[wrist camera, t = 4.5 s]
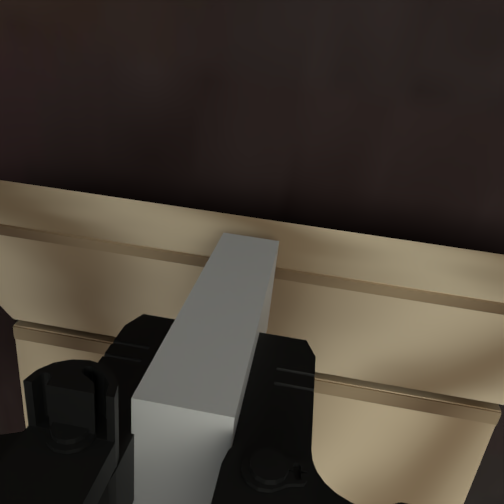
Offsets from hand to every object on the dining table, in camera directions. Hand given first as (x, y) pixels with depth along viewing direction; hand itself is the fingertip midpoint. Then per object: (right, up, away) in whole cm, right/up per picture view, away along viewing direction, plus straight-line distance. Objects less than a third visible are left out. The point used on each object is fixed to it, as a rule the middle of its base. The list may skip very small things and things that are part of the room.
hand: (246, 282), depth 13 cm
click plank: (0, 0, +4) cm, 4 cm away
